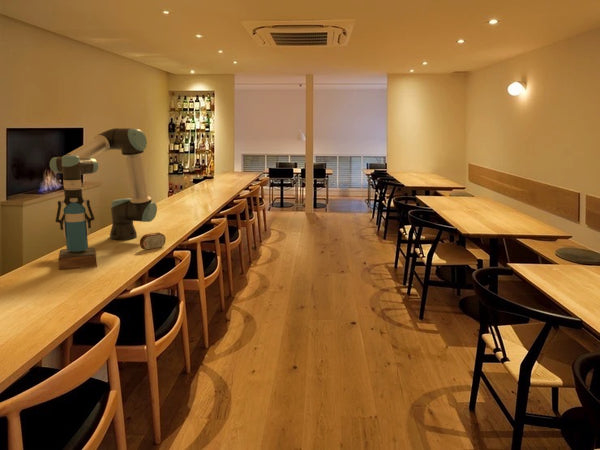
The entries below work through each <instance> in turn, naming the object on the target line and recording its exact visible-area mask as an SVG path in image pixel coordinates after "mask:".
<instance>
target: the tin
mask: <svg viewBox="0 0 600 450" xmlns="http://www.w3.org/2000/svg"><path fill="white" fill-rule="evenodd" d="M165 244H166V236H165V234H163V233H161V232H153V233H152V232H151V233H147V234H144V235H143V236H141V238H140V240H139V246H140V247H141V249H143V250H146V251H150V250H154V249H160V248H162V247H163V246H165Z"/></svg>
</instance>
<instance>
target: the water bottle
mask: <svg viewBox="0 0 600 450" xmlns="http://www.w3.org/2000/svg"><path fill="white" fill-rule="evenodd" d="M70 202H72V203H70V204H68V205H66V204H65V207H64V208H63V214H64V213H65V219H64V221H63V222H65V233H66V237H65V244H66V245H65V246H66V249H67V250H68V251H83V250H86V249H88V247H89V239H88V236H87V226H86V221H87V219H86V218H85V213H86V214H87V212H86V207H85V206H84V205H83V204H82V205H80V204H78V203H76V202H78V199H77V198H70ZM84 211H85V213H84Z"/></svg>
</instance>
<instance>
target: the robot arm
mask: <svg viewBox="0 0 600 450" xmlns="http://www.w3.org/2000/svg"><path fill="white" fill-rule="evenodd" d="M147 142H148V141H147V138H146V135H145V133H144V132H143V131H142V130H141V129H139V128H133V127H132V128H130V127H129V128H126V127H125V128H123V127H122V128H116V127H115V128H110V129H107V130H105V131H103V132H101V133H99V134H97V135H95V136H94V138H93V139H92V140H90V141H88V142H86V143H84V144H83V145H81V146H79V147H78V148H75V149H74V150H72V151H70V152H68V153H66V154H65V155H63V156H56V157H52V158H51V159H50V161H49V169H50V170H51V171H52V172H53V173H57V174H62V177H63V178H62V179H63V180H62V181H63V189H64V190H63V192H64V200H58V201H57V206H58V207H57V211H56V215H55V223H59V227H60V230H61V231H63V238H66V233H65V222H64V219H65V213H64V212H63V214H62V217H61V219H60V215H61V210H62V206H63V205H64V204H65V206H66V205H68V204H70V203H72V202H70V198H77V199H78V202H76V203H78V204H80V205H83V203H84V204H85V205H86V206H87V209H88V212H89V215H90V217H89V215H88V213H87V212H86V213H85V211H86V210H85V211H84V213H85V218H86V226H87V237H89V236H90V234H89V233H90V232H89V229H91V228H92V225H91V222H92V221H94V220H95V216H94V214H93V210H92V208H91V204H90V202H91V201H90V199H84V198H83V189H82V187H83V186H82V185H83V184H82V175H92V174H95V173H96V172H98V170H99V162H98V160H96V159H95V158H94V157H95V156H97V155H99V154H101V153H105V152H108V151H111V150H116V151H117V150H119V151H120V150H121V155H122V156H123V157H125V162H126V168H127V175H128V179H129V186H130V192H131V196H132V197H125V198H118V199H113V200H111V205H110V210H111V211H110V212H111V228H110V232H109V239H110V240H117V241H123V240H125V241H126V240H131V239H132V240H133V239H135V238H137V236H138V234H137V231H136V228H135V225H134V222H140V223H141V222H142V223H146V222H147V223H150V222H152V221H154V219H155V217H156V216H157V212H158V206H157V205H158V204H157V203H155V202H154V201H153V200H152V197H151V196H149V193H148V188H147V181H146V175H145V169H144V163H143V157H142V155H143V154H144V153H145V150H146V148H147Z"/></svg>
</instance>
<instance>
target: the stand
mask: <svg viewBox="0 0 600 450" xmlns="http://www.w3.org/2000/svg"><path fill="white" fill-rule="evenodd" d="M96 250H97V249H96V247H95V246H91V247H89V246H88V249H86V250H83V251H68V250H67V248H63V249H60V250H59V253H58V259H57V260H58V270H59V271H65V270H66V271H67V270H76V269H78V268H79V269H88V268H98V263H97V260H98V259H97V252H96Z"/></svg>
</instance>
